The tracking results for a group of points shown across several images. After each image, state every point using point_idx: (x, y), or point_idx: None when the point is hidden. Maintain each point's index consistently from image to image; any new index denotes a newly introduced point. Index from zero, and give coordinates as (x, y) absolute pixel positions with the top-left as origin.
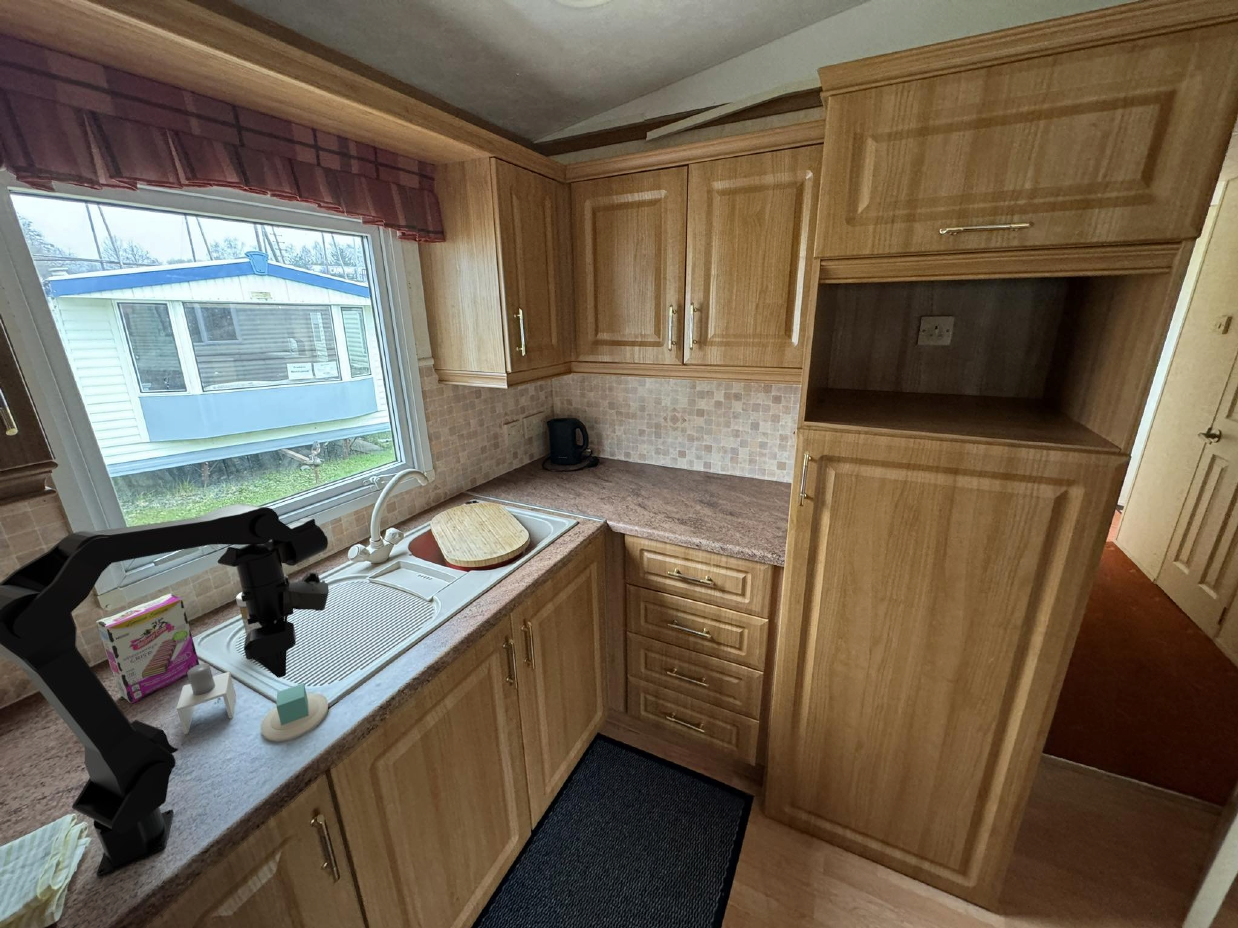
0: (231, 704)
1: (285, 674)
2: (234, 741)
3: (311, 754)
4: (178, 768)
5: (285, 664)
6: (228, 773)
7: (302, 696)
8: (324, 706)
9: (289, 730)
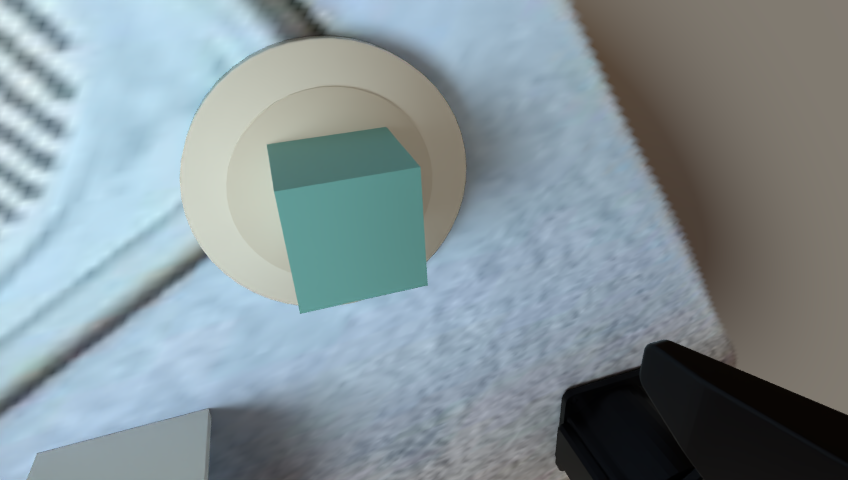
0: (167, 449)
1: (674, 343)
2: (360, 355)
3: (583, 86)
4: (405, 447)
5: (809, 402)
6: (504, 321)
7: (414, 176)
8: (342, 55)
9: (440, 190)
